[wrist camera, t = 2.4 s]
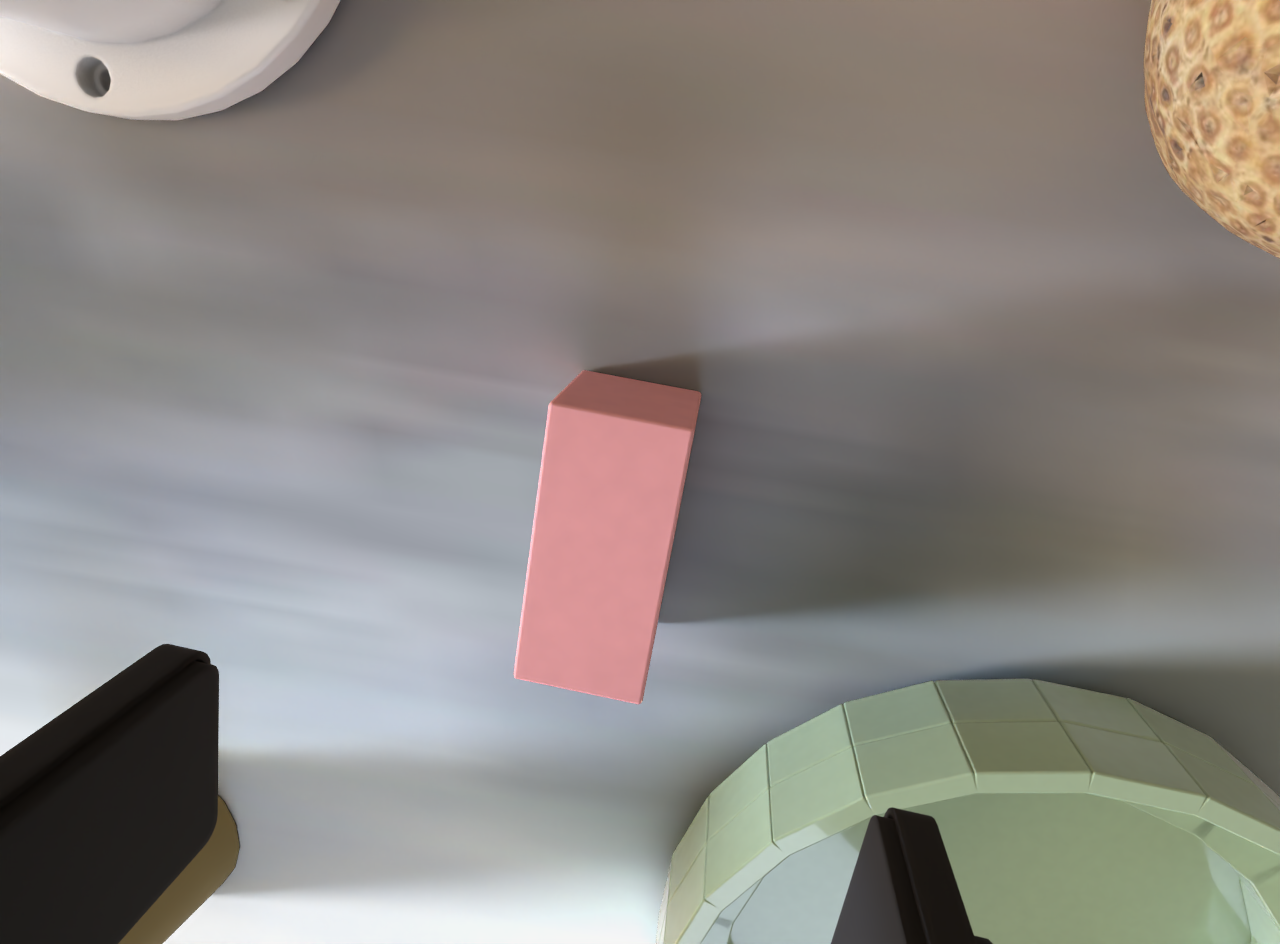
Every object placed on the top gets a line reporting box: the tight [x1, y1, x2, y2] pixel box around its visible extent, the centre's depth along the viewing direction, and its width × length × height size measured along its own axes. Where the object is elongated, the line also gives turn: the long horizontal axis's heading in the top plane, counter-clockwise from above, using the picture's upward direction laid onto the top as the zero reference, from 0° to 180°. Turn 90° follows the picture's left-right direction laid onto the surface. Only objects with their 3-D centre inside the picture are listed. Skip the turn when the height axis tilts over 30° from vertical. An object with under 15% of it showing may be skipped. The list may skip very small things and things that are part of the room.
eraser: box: [514, 370, 701, 704], centre depth 20 cm, size 7×3×4 cm, turn 171°
